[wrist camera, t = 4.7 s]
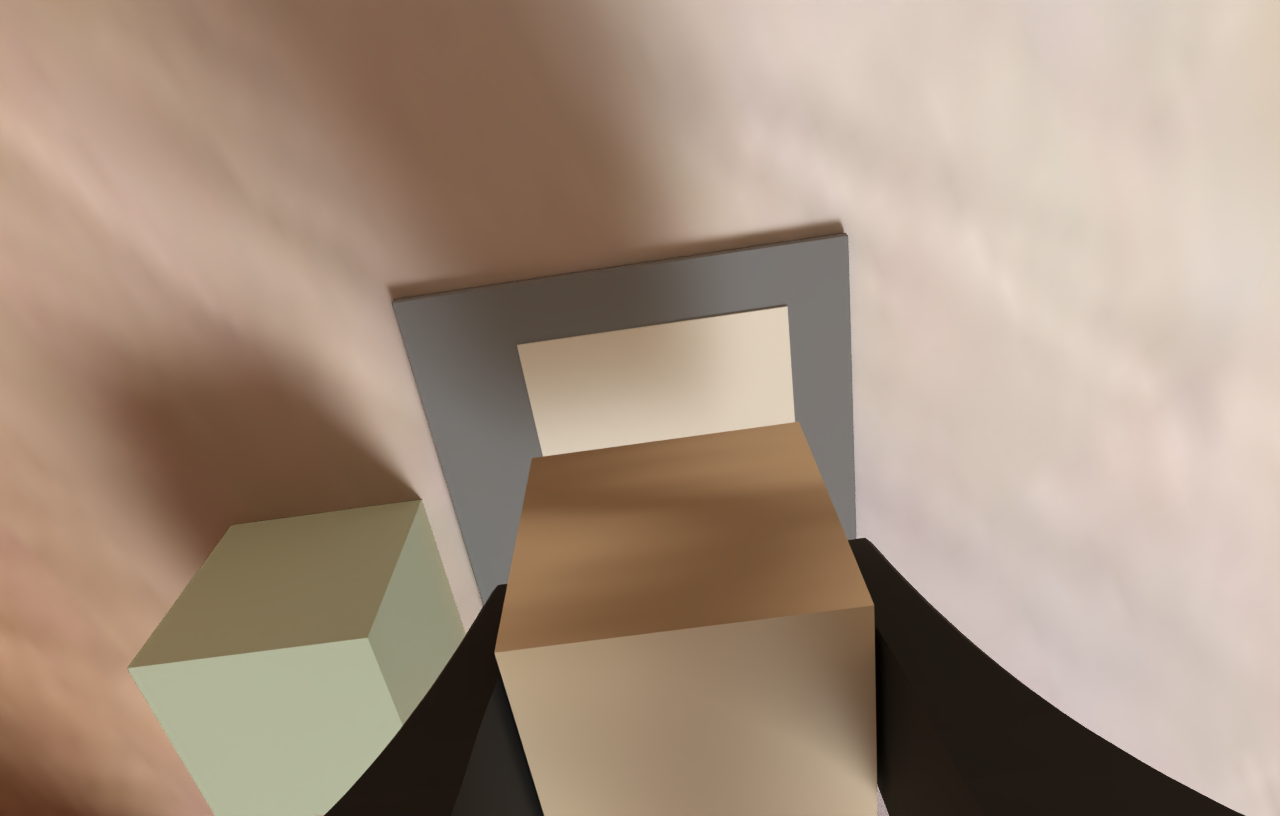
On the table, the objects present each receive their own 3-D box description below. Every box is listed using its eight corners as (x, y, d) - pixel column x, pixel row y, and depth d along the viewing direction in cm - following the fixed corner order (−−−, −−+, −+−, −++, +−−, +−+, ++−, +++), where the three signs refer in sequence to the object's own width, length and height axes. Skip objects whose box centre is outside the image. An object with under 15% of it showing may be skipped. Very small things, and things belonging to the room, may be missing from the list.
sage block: (298, 665, 21) (221, 826, 17) (232, 523, 19) (127, 668, 15) (469, 643, 21) (433, 801, 17) (422, 497, 18) (367, 637, 14)
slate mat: (504, 665, 21) (503, 672, 21) (394, 299, 16) (391, 303, 16) (856, 622, 20) (859, 628, 20) (845, 233, 16) (848, 236, 16)
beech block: (579, 655, 16) (565, 883, 12) (531, 457, 14) (494, 652, 10) (811, 626, 15) (878, 849, 11) (798, 421, 13) (875, 605, 9)
